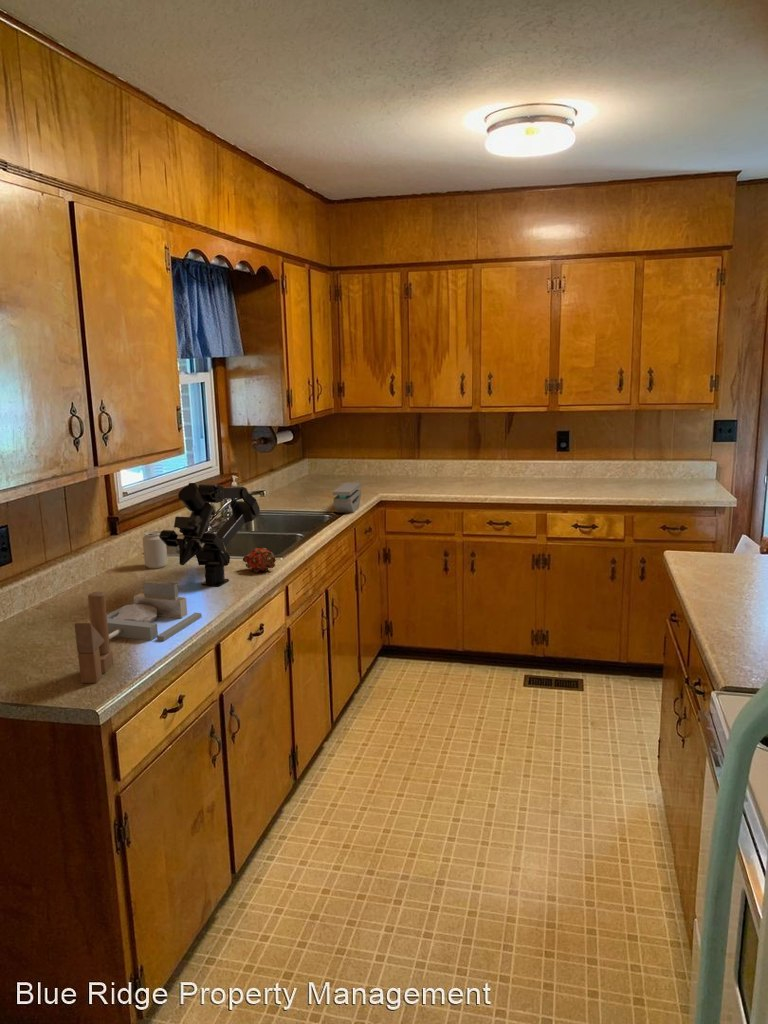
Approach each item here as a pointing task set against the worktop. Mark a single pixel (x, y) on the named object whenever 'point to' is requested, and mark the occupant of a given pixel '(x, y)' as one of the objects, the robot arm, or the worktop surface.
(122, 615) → the stone block
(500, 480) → the worktop surface
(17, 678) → the worktop surface
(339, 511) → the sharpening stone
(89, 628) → the wooden block
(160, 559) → the can
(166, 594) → the bar
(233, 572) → the worktop surface
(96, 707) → the worktop surface
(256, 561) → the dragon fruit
